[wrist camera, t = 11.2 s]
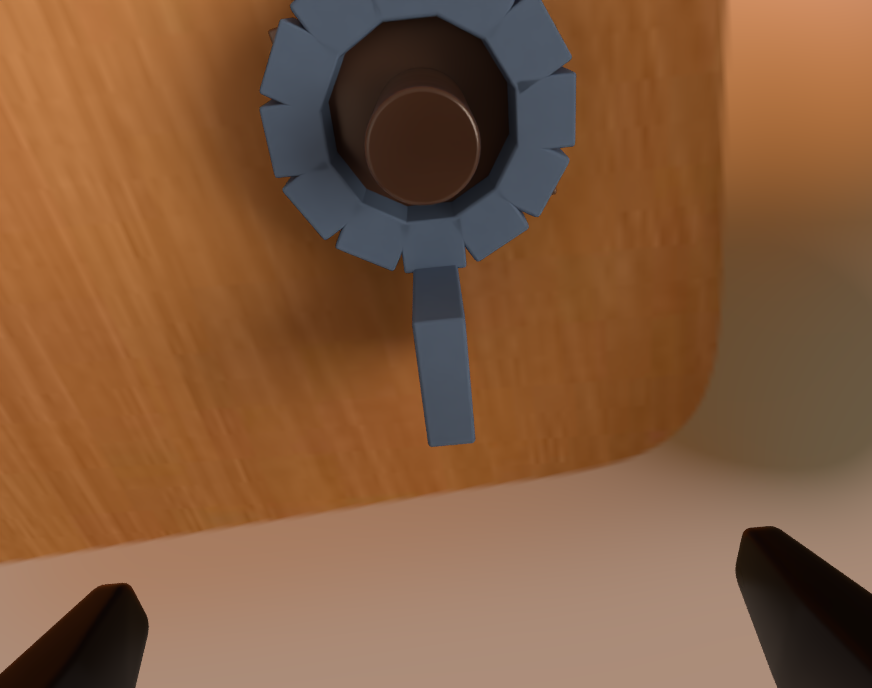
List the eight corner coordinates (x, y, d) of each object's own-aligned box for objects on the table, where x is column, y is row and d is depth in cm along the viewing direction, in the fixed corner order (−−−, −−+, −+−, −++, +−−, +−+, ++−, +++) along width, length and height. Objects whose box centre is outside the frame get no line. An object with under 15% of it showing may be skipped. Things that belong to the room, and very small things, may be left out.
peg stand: (550, 185, 15) (592, 241, 11) (356, 242, 15) (338, 313, 12) (503, -51, 12) (536, -72, 9) (275, 29, 13) (221, 39, 9)
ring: (242, -35, 12) (171, -49, 8) (564, -73, 11) (623, -102, 8) (329, 365, 16) (306, 459, 13) (562, 343, 16) (600, 432, 13)
